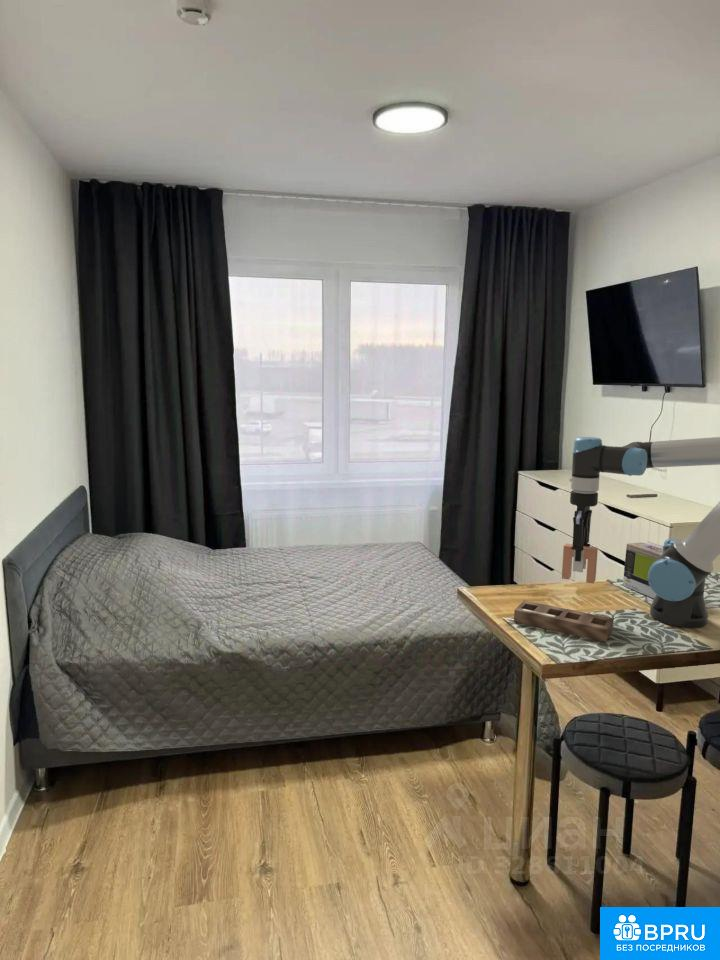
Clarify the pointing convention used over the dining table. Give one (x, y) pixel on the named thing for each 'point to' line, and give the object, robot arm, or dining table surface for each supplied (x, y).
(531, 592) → the dining table surface
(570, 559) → the pink u-shaped block
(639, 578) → the grey electronic device
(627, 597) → the dining table surface
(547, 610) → the brown compartment rack
